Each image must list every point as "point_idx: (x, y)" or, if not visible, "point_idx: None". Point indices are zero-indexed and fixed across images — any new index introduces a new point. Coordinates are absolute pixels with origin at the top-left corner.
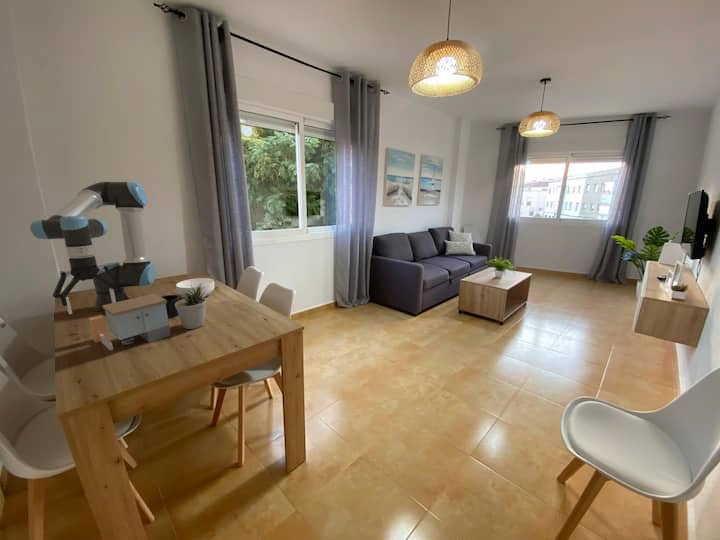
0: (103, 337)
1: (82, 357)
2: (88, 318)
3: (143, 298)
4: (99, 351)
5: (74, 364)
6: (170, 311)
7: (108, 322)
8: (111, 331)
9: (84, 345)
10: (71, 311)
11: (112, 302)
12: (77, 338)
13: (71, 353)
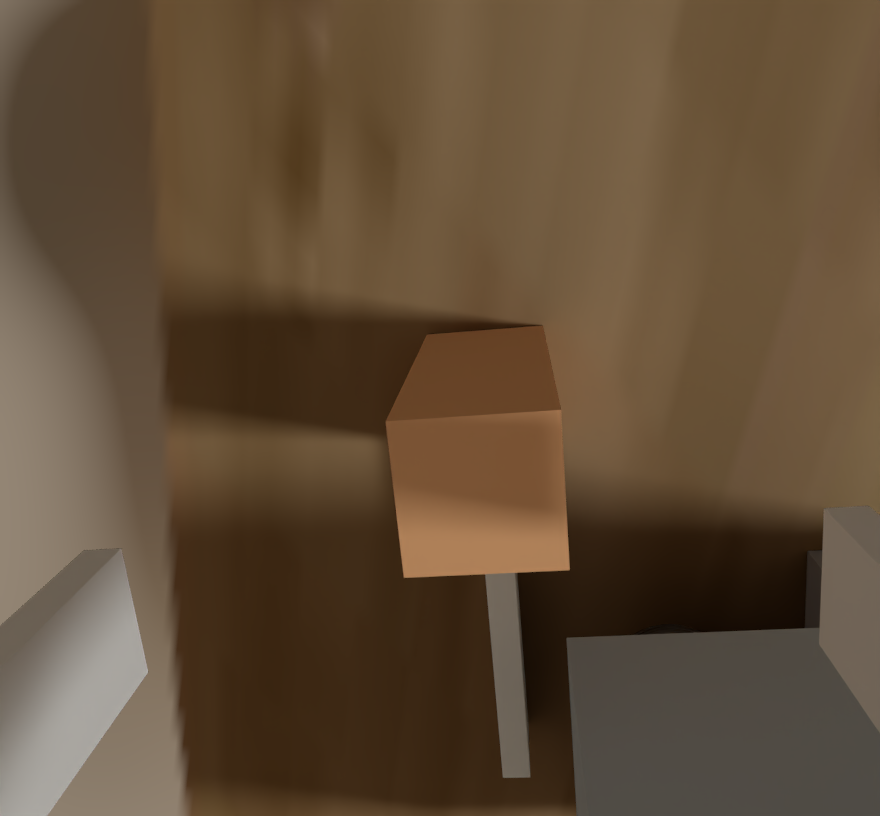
0: (495, 588)
1: (309, 689)
2: (389, 442)
3: None
4: (431, 674)
5: (254, 770)
6: None
7: (579, 750)
8: (571, 719)
9: (341, 425)
10: (121, 700)
11: (831, 555)
12: (296, 139)
13: (238, 535)
